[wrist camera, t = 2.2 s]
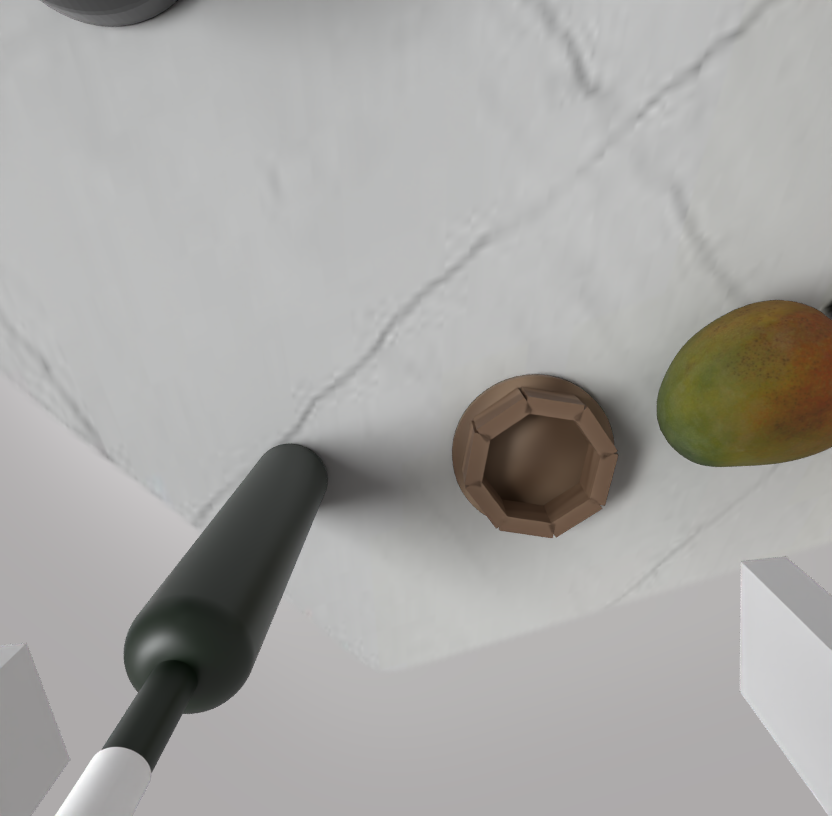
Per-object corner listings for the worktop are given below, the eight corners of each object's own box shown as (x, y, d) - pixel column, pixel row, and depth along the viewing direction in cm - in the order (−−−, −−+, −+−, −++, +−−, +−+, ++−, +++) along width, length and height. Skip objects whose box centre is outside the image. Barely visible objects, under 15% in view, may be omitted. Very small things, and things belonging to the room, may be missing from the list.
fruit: (840, 355, 42) (962, 386, 33) (722, 483, 45) (802, 546, 36) (724, 261, 41) (816, 266, 31) (609, 400, 44) (660, 443, 34)
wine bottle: (294, 523, 47) (81, 969, 18) (241, 476, 46) (-76, 868, 17) (342, 478, 46) (199, 876, 17) (289, 429, 45) (39, 762, 16)
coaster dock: (440, 511, 46) (441, 534, 43) (467, 362, 43) (471, 373, 39) (590, 533, 47) (604, 558, 43) (628, 387, 43) (647, 400, 40)
